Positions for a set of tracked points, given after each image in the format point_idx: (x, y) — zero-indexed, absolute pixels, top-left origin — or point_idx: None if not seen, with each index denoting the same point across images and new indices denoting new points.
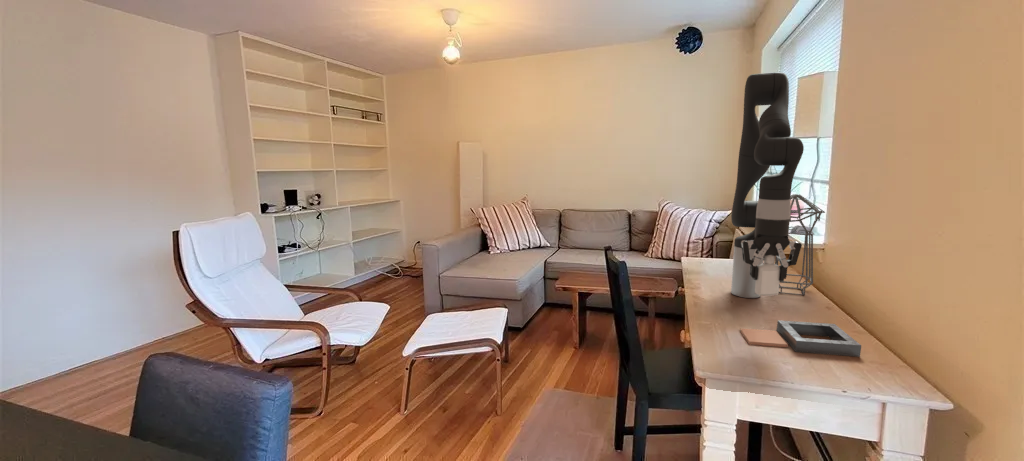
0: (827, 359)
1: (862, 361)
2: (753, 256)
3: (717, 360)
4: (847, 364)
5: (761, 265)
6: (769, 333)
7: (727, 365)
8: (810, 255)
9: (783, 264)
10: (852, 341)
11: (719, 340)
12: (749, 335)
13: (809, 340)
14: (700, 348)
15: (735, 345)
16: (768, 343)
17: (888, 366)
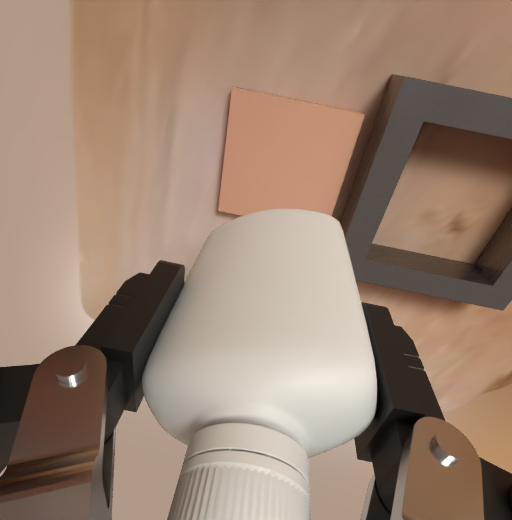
0: (381, 294)
1: (463, 307)
2: (15, 469)
3: (115, 288)
4: (408, 317)
5: (164, 423)
6: (321, 143)
7: None
8: None
9: (372, 504)
10: (507, 287)
11: (139, 176)
12: (238, 163)
13: (372, 276)
14: (80, 229)
15: (178, 212)
16: None
17: (500, 329)
